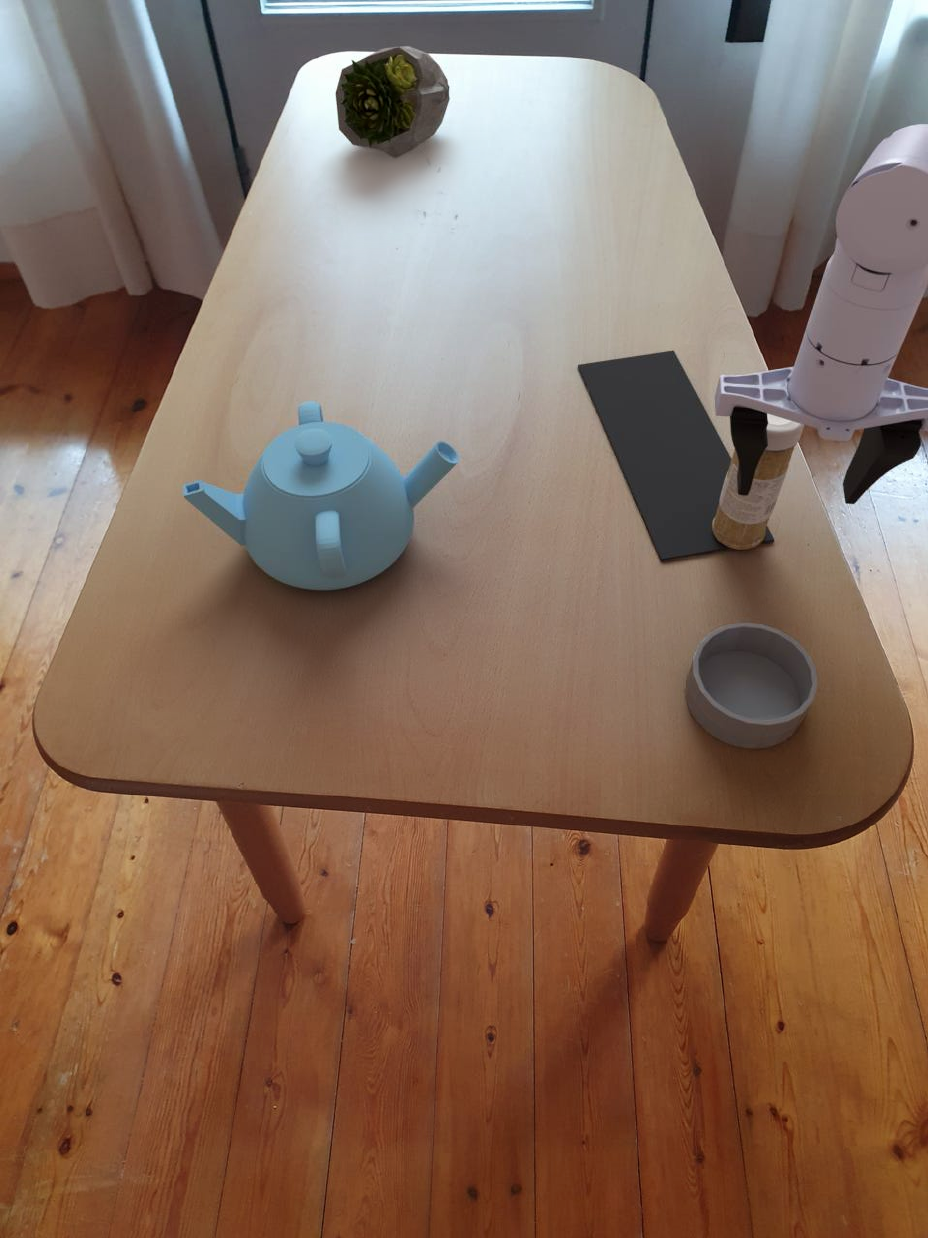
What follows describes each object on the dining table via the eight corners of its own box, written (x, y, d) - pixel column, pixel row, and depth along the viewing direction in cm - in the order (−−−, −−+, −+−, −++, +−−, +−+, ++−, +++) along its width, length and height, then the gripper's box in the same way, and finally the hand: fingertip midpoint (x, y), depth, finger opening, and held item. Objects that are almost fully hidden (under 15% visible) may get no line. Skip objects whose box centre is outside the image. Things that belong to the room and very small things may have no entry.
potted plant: (473, 104, 120) (435, 126, 109) (400, 165, 127) (358, 191, 116) (416, 13, 116) (371, 26, 105) (345, 82, 123) (295, 100, 112)
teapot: (373, 641, 75) (357, 548, 66) (201, 563, 80) (165, 467, 71) (467, 515, 83) (464, 416, 74) (305, 451, 88) (283, 352, 79)
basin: (799, 654, 73) (811, 628, 70) (809, 754, 68) (823, 730, 65) (684, 644, 74) (692, 617, 71) (686, 742, 69) (694, 718, 66)
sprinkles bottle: (735, 504, 82) (772, 382, 72) (776, 535, 80) (820, 413, 69) (698, 529, 81) (731, 408, 70) (739, 561, 79) (779, 441, 68)
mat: (773, 542, 80) (774, 539, 80) (661, 561, 79) (661, 559, 79) (673, 352, 95) (673, 350, 95) (577, 366, 94) (577, 364, 94)
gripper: (737, 369, 57) (696, 521, 68) (987, 386, 56) (904, 539, 67) (732, 299, 61) (695, 453, 72) (965, 313, 60) (891, 468, 71)
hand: (795, 489), depth 70 cm, fingers open, 7 cm apart
